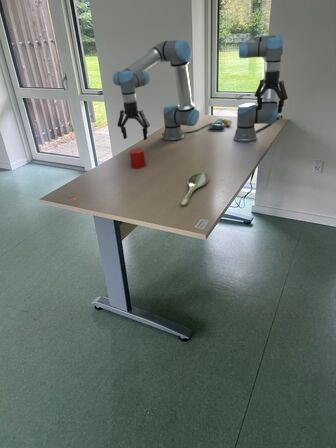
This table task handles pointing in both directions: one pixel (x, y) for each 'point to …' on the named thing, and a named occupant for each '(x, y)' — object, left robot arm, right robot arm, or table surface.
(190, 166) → the table surface
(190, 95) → the left robot arm
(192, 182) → the spoon
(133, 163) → the canister
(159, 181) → the table surface
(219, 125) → the spray gun
